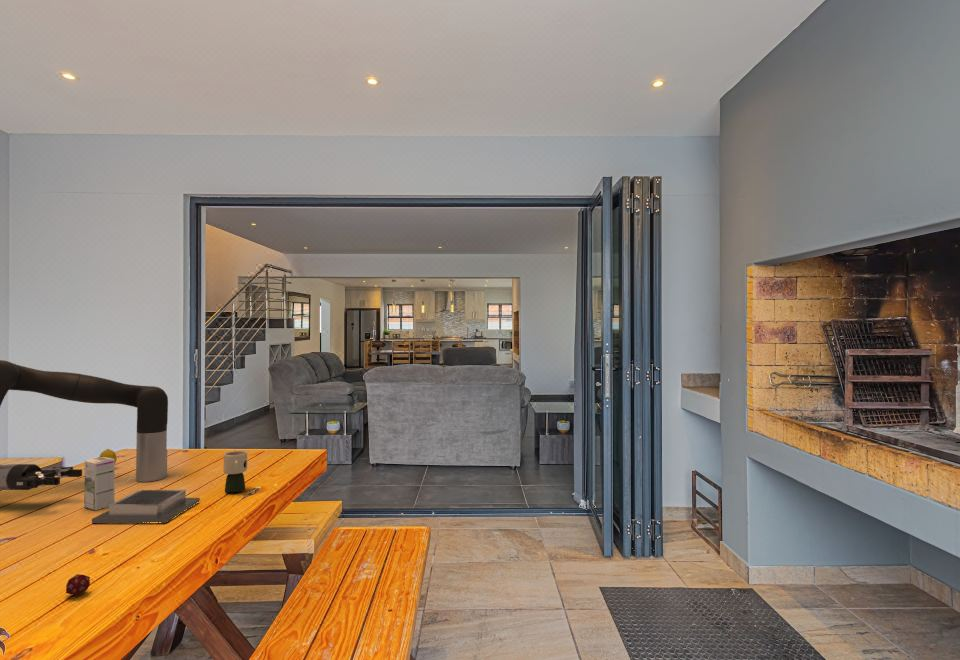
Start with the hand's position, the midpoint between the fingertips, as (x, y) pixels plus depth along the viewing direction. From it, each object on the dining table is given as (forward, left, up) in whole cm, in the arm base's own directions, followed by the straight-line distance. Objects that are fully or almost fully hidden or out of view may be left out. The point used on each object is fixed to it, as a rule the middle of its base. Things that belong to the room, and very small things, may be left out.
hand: (70, 477), depth 153 cm
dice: (+52, +42, -9) cm, 67 cm away
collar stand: (+5, +27, -9) cm, 29 cm away
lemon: (-42, -18, -9) cm, 47 cm away
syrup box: (0, +9, -9) cm, 13 cm away
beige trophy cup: (-15, +43, -9) cm, 46 cm away
